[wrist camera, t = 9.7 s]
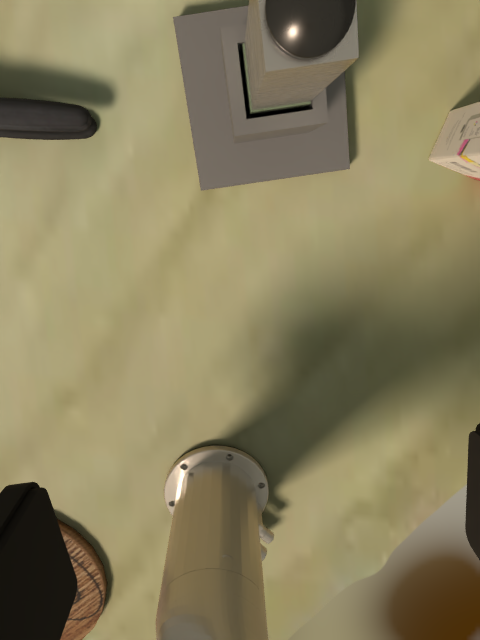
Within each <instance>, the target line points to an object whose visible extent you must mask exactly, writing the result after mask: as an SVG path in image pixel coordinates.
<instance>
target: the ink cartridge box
mask: <svg viewBox="0 0 480 640" xmlns="http://www.w3.org/2000/svg"><path fill="white" fill-rule="evenodd" d="M429 160H430V161H432V162H434V163H436V164H439V165H441V166H444V167H446V168H449V169H451V170H454V171H456V172H459V173H461V174H463V175H466V176H469V177H471V178H474V179H476V180H479V181H480V102H477V103H473V104H470V105H467V106H464V107H461V108H458V109H454V110H451V111H450V112H449V114H448V117H447V119H446V121H445V123H444V126H443V128H442V130H441V132H440V135H439V137H438V139H437V141H436V143H435V146H434V148H433V150H432V152H431V154H430V157H429Z"/></svg>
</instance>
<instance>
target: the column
mask: <svg viewBox="0 0 480 640" xmlns="http://www.w3.org/2000/svg"><path fill="white" fill-rule="evenodd" d="M242 50H243V67H244V75H245V84H246V92H247V100H248V109H249V117H256V116H263V115H269V114H276V113H283V112H289V111H296V110H301V109H302V108H303V107H304V106H307V105H310V104H311V100H312V99H313V98H314V97H316V96H317V95H318V94H319V93H320V92H321V91H322V90H323V89H325V88H326V87H327V86H328V85H329V84H330V83H331V82H332V81H334V80H335V79H336V78H337V77H338V76H339V75H340V74H341V73H342V72H344V71H345V70H346V69H347V68H348V67H349V66H350V65H351V64H353V63H354V62H355V61H356V60H357V59H358V58H359V48H358V26H357V3H356V0H249V7H248V16H247V25H246V34H245V42H244V43H243V44H242Z"/></svg>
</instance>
